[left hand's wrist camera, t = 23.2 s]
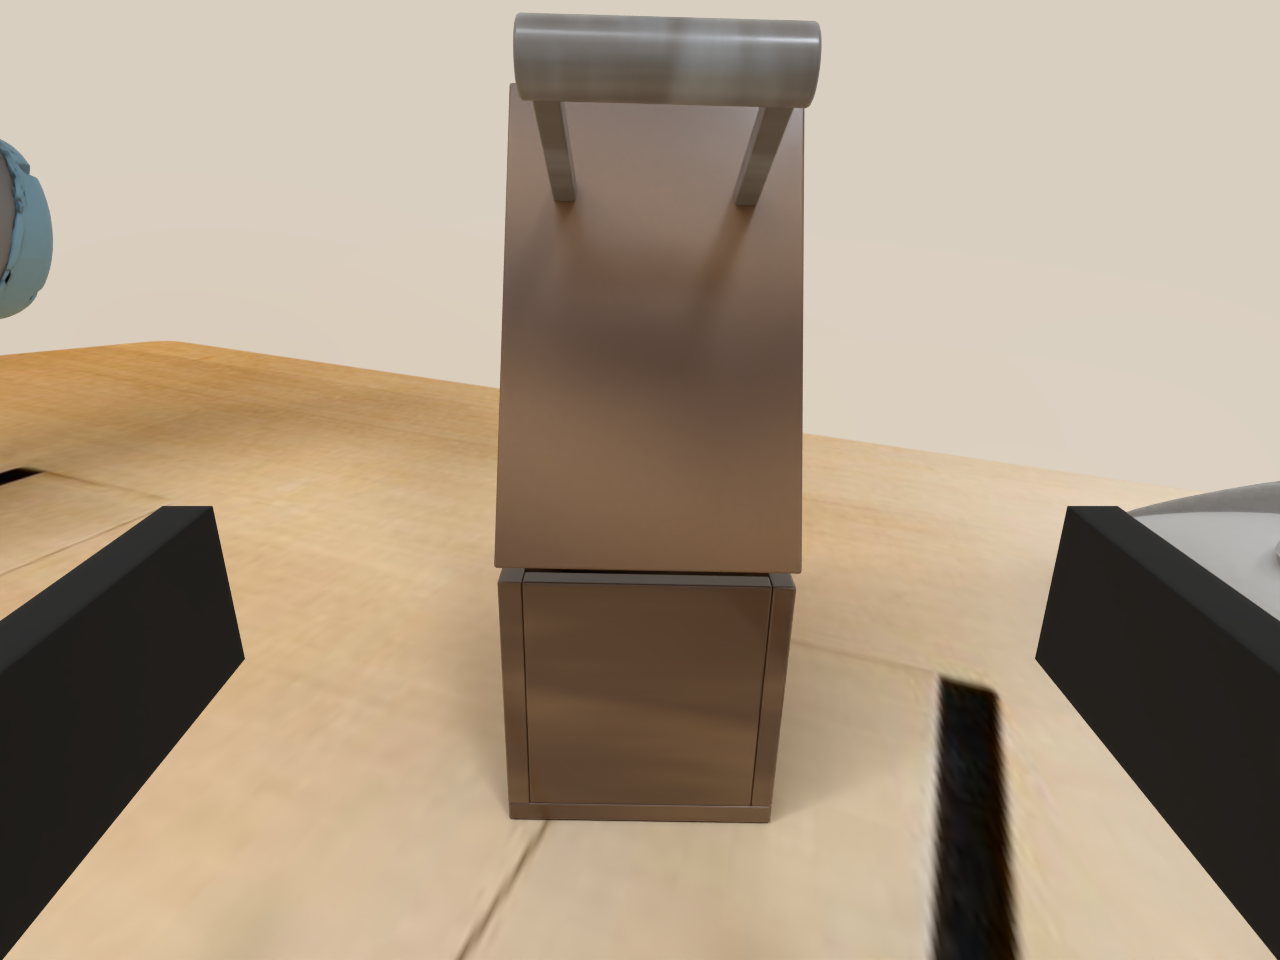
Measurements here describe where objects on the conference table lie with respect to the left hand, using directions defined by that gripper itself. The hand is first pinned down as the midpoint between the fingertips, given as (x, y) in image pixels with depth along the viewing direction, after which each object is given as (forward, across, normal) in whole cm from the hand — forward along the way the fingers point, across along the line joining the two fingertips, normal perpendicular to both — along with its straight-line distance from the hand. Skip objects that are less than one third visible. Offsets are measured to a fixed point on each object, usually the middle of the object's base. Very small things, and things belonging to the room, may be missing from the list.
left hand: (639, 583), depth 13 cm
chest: (+18, 0, -16) cm, 24 cm away
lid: (+15, 0, +1) cm, 15 cm away
